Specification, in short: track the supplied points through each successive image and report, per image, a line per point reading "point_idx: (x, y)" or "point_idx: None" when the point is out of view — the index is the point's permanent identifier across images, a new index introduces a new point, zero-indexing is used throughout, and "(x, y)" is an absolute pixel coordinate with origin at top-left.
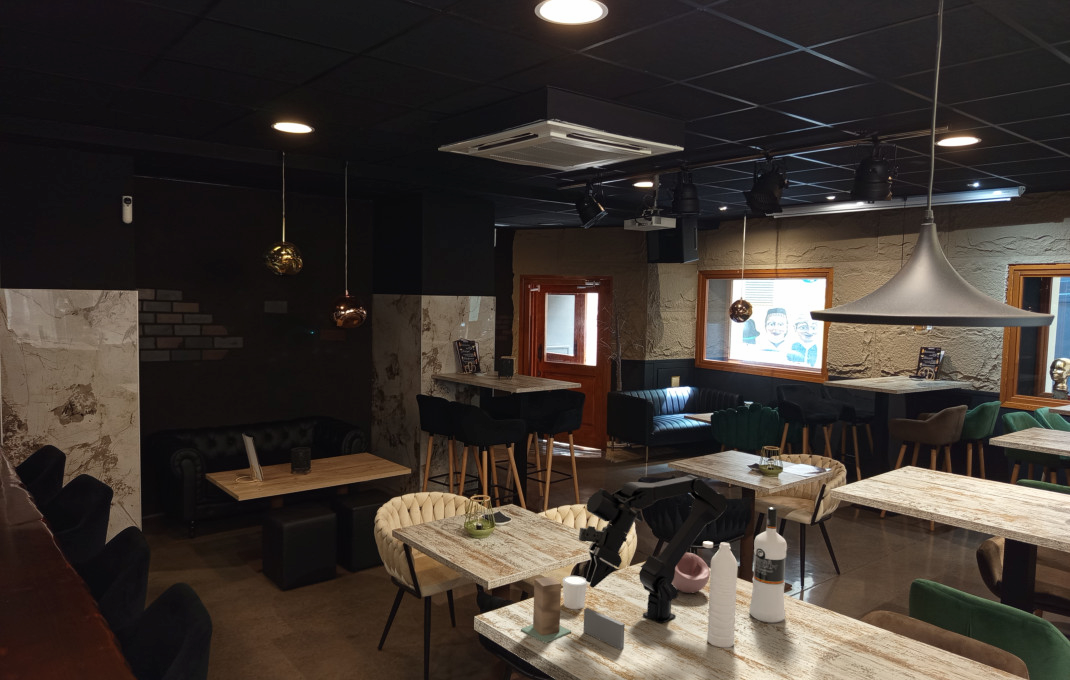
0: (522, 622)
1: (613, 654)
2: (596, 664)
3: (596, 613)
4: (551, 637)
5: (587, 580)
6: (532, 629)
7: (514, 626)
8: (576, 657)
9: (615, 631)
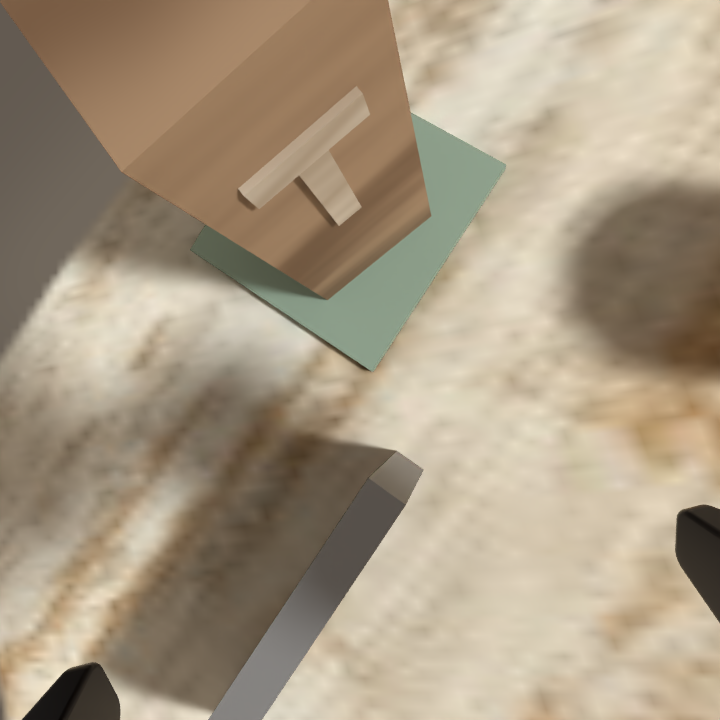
0: (426, 32)
1: (165, 659)
2: (41, 566)
3: (305, 600)
4: (246, 268)
5: (688, 535)
6: None
7: None
8: (85, 450)
9: None
